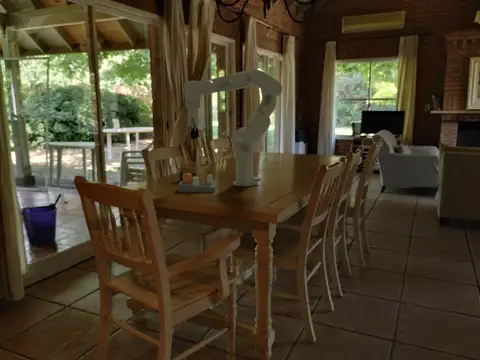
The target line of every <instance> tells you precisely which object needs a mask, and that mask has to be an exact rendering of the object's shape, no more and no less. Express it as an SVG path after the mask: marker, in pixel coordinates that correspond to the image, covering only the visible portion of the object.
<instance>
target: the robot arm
mask: <svg viewBox="0 0 480 360" xmlns="http://www.w3.org/2000/svg"><path fill="white" fill-rule="evenodd" d="M254 86H256V87H258V88H259V89H260V92H261V101H260V103H259V104H258V106H257V107H256V108H255V110H254V111H253V112H252V113H251V114H250V116H249V117H248V119H247V124H248V126H247V127H246V126H244V127H240V128H238V129H237V130H236V131H235V133H234V145H235V181H233V182H232V184H233V186H237V187H253V186H255V185H256V184H257V182H262V177H255V176H254V148H253V146H255V145H257V143H259V141H260V140H261V138H263V136H264V134H266V132H267V130H268V129H269V128H270V126H271V122H272V121H271V116H272V114H273V112H274V111H275V109H276V106H277V97H279V96H280V95H281V94H282V93H283V85H282V84H281V82H280V81H279V80H278V79H276V78H275V77H273V76H271V75H270V74H268V73H267V72H266V71H264V70H262V69H260V68H254V69H248V70H244V71H239V72H233V73H229V74H224V75H223V76H219V77H215V78H214V77H213V78H210V79H205V80H187V81H184V84H183V87H184V88H183V89H184V98H185V99H184V100H185V109H187V127H188V128H189V130H190V131H189V132H190V135H189V136H190V139H191V140H197V139H198V138H199V137H200V132H199V126H200V121H199V120H200V118H199V115H200V114H199V109H201V97H200V96H201V95H203V96H206V95H207V96H208V95H212V94H215V93H221V92H229V91H230V92H231V91H235V90H236V91H237V90H240V89H245V88H248V87H249V88H250V87H254Z"/></svg>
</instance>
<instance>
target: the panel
mask: <svg viewBox="0 0 480 360" xmlns="http://www.w3.org/2000/svg"><path fill="white" fill-rule="evenodd" d="M198 183H199V186H193V181H191V184H183V181H179V183H178V186H177V193H215V192H216V190H217V187H218V185H217V182H212V184H211V183H207V181H198Z"/></svg>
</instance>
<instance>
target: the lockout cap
mask: <svg viewBox="0 0 480 360" xmlns="http://www.w3.org/2000/svg"><path fill="white" fill-rule="evenodd" d="M183 184H191V173H183Z"/></svg>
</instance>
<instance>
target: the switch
mask: <svg viewBox="0 0 480 360" xmlns="http://www.w3.org/2000/svg"><path fill="white" fill-rule="evenodd" d="M198 182H199V176H197V177H193V186H199V183H198Z"/></svg>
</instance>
